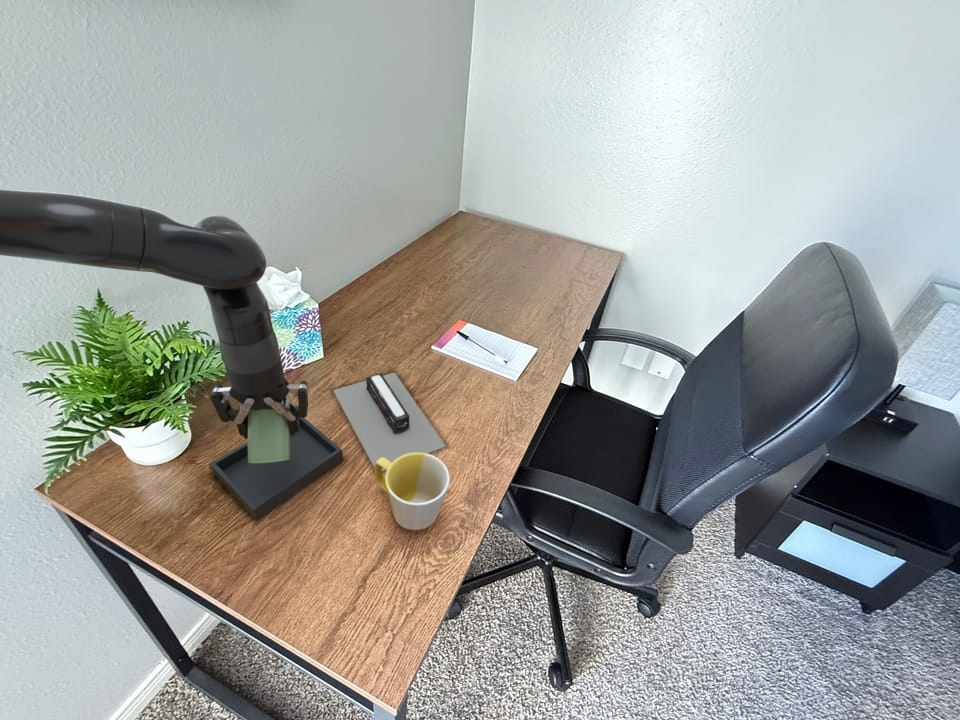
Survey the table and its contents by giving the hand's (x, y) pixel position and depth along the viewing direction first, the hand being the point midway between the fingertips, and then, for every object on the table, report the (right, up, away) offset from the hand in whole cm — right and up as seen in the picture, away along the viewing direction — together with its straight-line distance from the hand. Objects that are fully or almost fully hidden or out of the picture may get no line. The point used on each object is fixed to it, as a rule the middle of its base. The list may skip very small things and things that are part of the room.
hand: (270, 433), depth 78 cm
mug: (+23, -14, +3) cm, 27 cm away
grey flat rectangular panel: (+16, 0, +19) cm, 25 cm away
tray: (-1, -7, +6) cm, 10 cm away
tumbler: (+1, -4, -2) cm, 5 cm away
